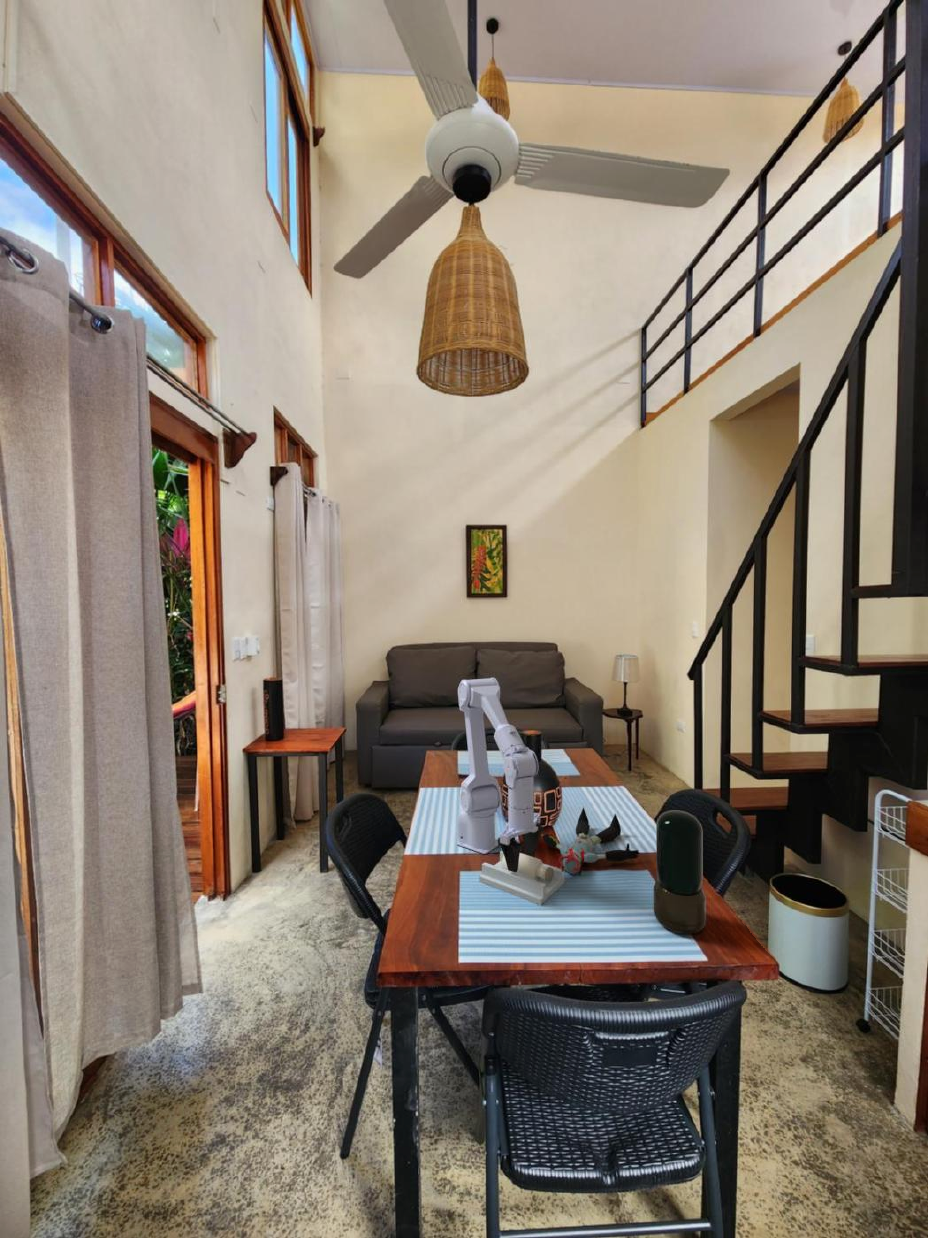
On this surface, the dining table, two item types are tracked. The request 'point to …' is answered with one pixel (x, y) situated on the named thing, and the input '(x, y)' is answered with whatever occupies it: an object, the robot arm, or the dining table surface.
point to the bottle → (531, 868)
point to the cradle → (520, 882)
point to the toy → (589, 846)
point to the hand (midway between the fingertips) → (521, 864)
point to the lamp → (679, 873)
